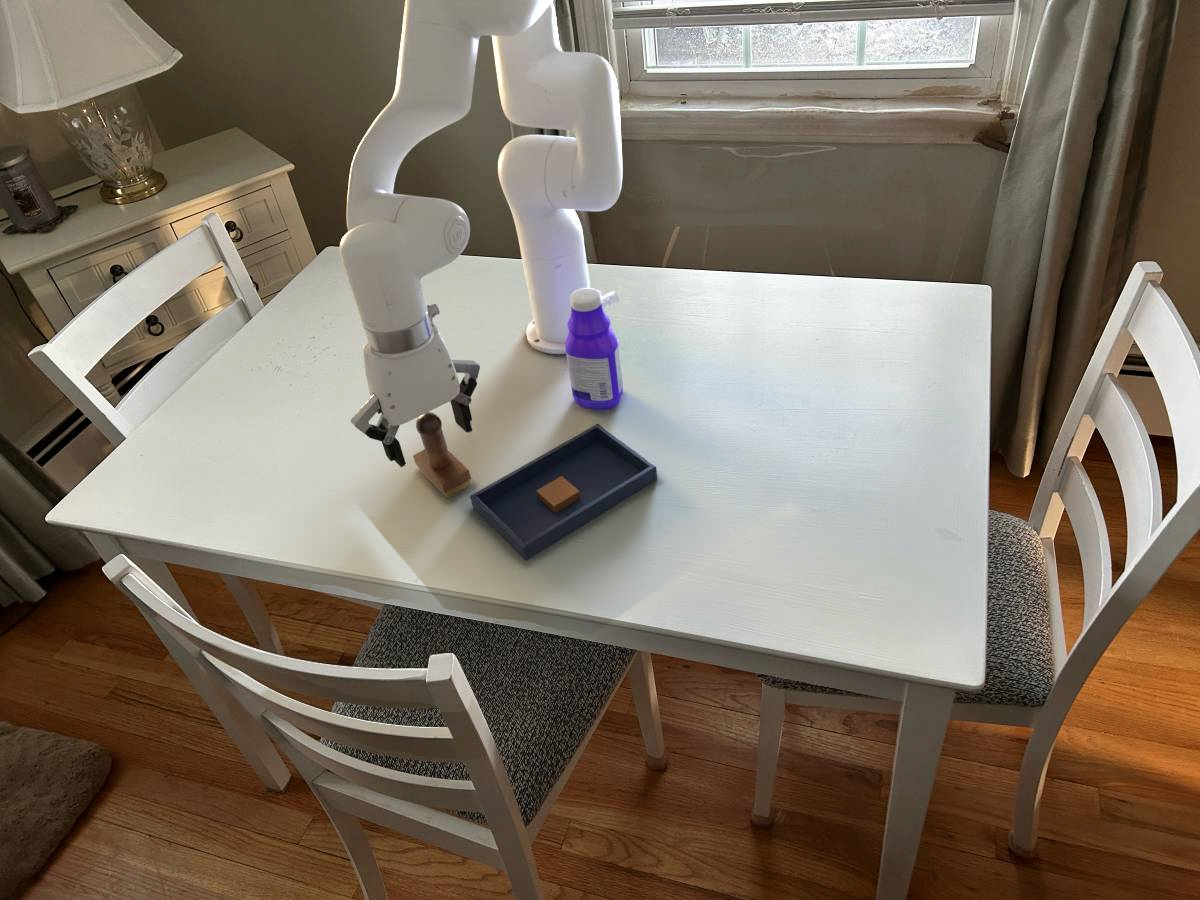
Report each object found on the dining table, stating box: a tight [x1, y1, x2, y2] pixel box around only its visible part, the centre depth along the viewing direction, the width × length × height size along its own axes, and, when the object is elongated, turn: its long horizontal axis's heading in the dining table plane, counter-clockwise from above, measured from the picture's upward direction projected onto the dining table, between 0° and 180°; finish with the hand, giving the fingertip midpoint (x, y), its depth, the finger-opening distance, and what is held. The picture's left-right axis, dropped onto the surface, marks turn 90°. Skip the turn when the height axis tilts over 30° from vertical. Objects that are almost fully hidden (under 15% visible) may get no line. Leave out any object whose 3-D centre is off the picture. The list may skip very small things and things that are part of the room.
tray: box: [469, 423, 658, 562], centre depth 114 cm, size 20×12×3 cm, turn 127°
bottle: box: [565, 287, 624, 410], centre depth 124 cm, size 7×6×17 cm
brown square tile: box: [536, 476, 581, 513], centre depth 114 cm, size 4×4×1 cm
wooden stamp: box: [412, 411, 472, 499], centre depth 116 cm, size 4×8×11 cm, turn 37°
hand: (432, 444), depth 115 cm, fingers open, 9 cm apart
